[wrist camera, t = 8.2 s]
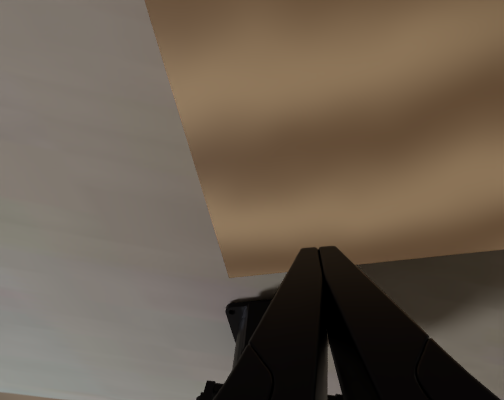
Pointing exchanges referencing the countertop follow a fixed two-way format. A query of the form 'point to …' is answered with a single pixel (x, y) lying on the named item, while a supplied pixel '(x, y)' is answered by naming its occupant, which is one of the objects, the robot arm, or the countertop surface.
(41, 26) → the countertop surface
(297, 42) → the wooden block
